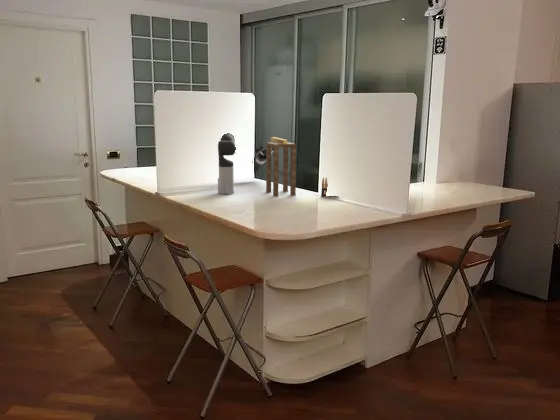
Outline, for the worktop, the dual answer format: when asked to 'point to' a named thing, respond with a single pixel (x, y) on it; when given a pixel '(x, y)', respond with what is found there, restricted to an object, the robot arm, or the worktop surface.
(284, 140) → the brass bar
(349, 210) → the worktop surface
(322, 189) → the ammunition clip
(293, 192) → the walnut stand
